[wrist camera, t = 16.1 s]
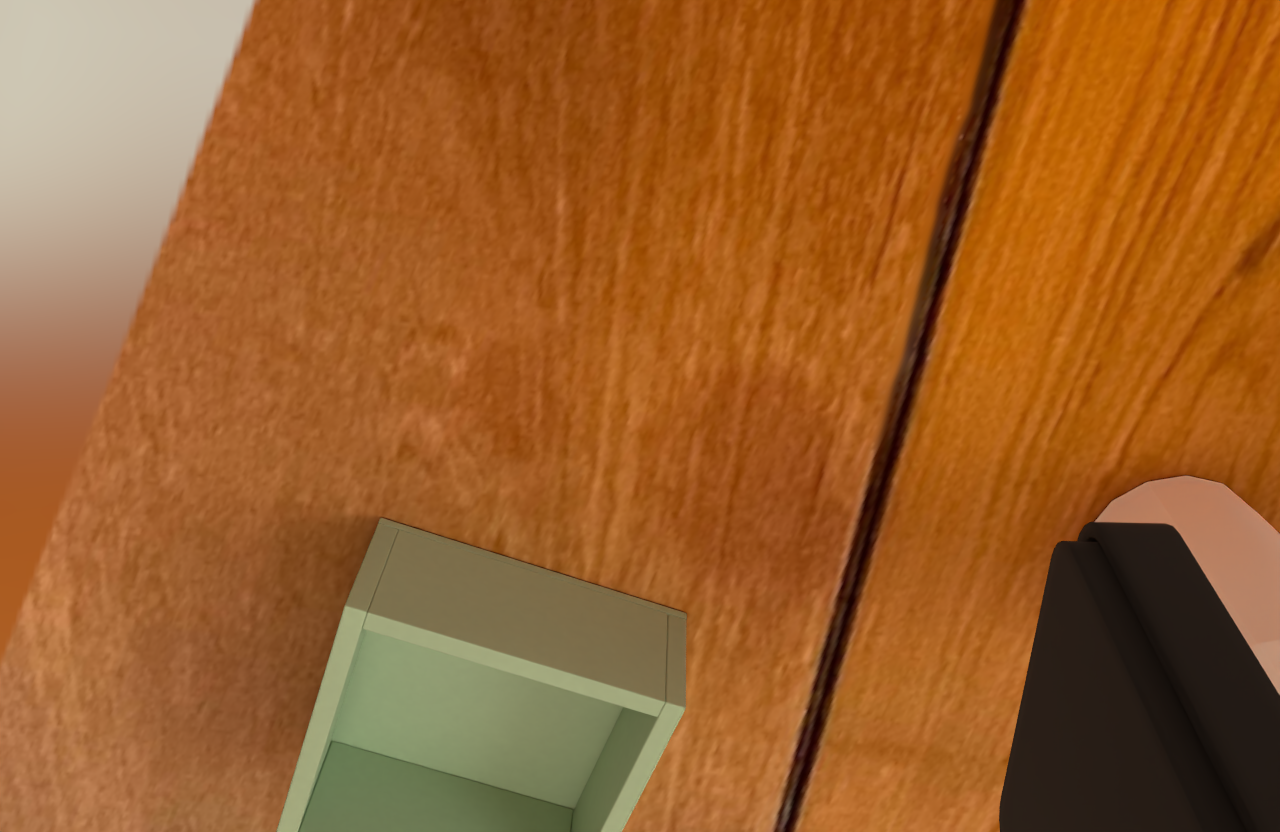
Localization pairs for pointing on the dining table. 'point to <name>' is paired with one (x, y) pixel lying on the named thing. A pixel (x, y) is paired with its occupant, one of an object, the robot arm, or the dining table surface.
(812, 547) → the dining table surface
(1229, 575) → the foam cup
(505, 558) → the bin
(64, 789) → the dining table surface
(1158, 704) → the robot arm
